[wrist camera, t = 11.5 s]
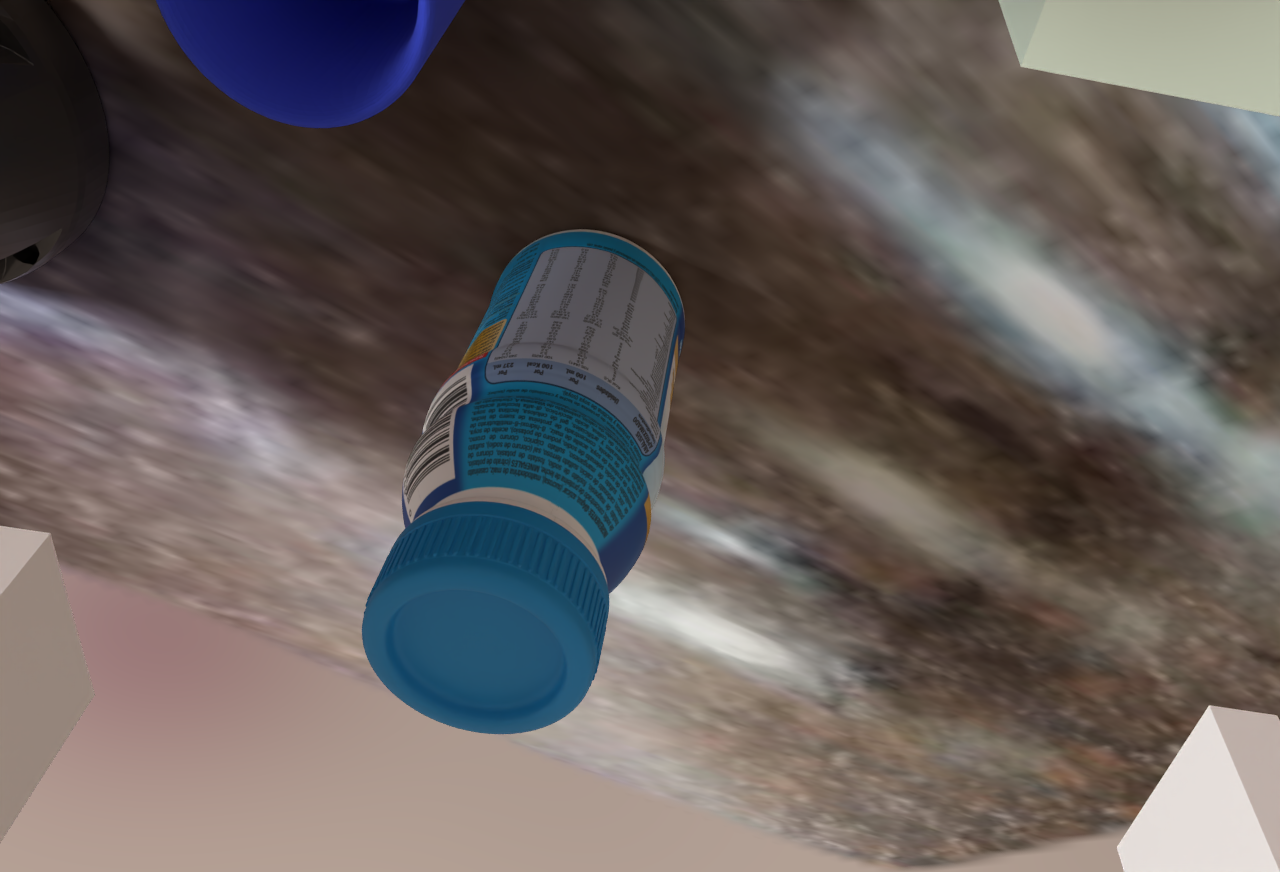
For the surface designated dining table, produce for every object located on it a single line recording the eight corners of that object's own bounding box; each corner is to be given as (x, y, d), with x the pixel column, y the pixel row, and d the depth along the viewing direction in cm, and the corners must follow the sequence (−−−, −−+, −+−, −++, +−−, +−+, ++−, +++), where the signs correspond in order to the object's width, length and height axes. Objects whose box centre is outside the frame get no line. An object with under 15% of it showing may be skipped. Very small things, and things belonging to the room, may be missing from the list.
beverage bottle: (670, 206, 43) (587, 532, 27) (705, 385, 48) (653, 755, 31) (469, 234, 45) (279, 555, 29) (522, 404, 49) (384, 763, 33)
